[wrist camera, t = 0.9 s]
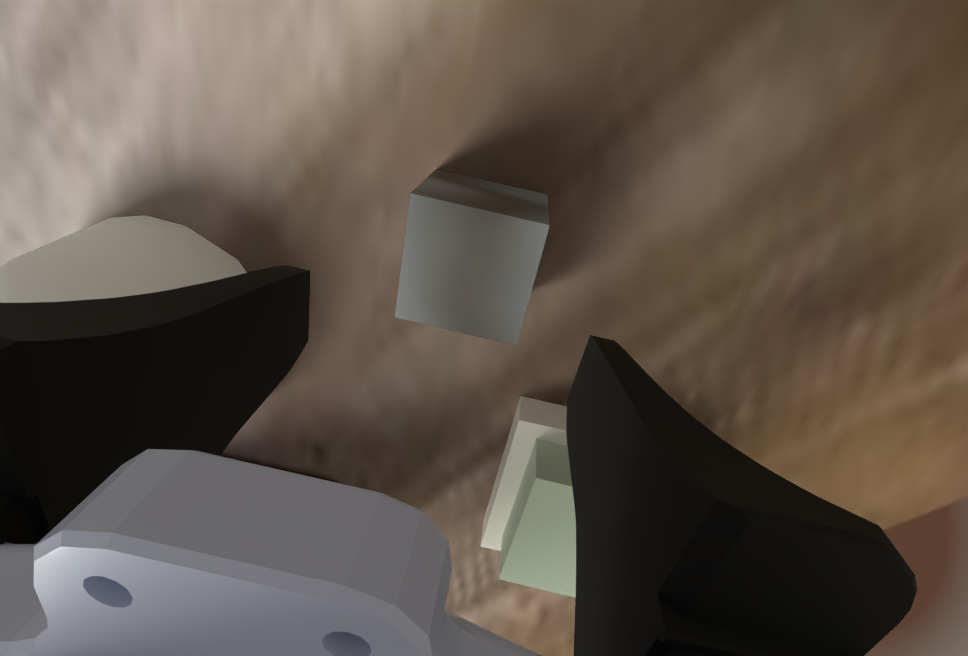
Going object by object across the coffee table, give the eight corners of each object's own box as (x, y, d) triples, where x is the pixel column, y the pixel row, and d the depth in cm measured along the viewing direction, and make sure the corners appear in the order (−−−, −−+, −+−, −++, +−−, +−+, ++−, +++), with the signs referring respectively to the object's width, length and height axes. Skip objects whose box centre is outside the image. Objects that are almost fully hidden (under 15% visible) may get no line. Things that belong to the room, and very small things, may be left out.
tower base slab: (485, 510, 28) (480, 546, 26) (520, 388, 24) (519, 419, 22) (632, 543, 28) (640, 582, 26) (694, 428, 24) (709, 463, 22)
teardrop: (206, 444, 27) (-2, 674, 17) (28, 307, 24) (-368, 485, 14) (328, 342, 23) (154, 562, 13) (133, 160, 20) (-317, 253, 10)
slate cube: (421, 271, 21) (394, 317, 17) (437, 168, 19) (410, 193, 15) (521, 294, 21) (516, 345, 17) (547, 194, 19) (550, 225, 15)
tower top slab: (502, 536, 26) (498, 579, 23) (536, 438, 22) (535, 477, 20) (628, 566, 26) (637, 612, 23) (681, 473, 22) (697, 516, 20)
